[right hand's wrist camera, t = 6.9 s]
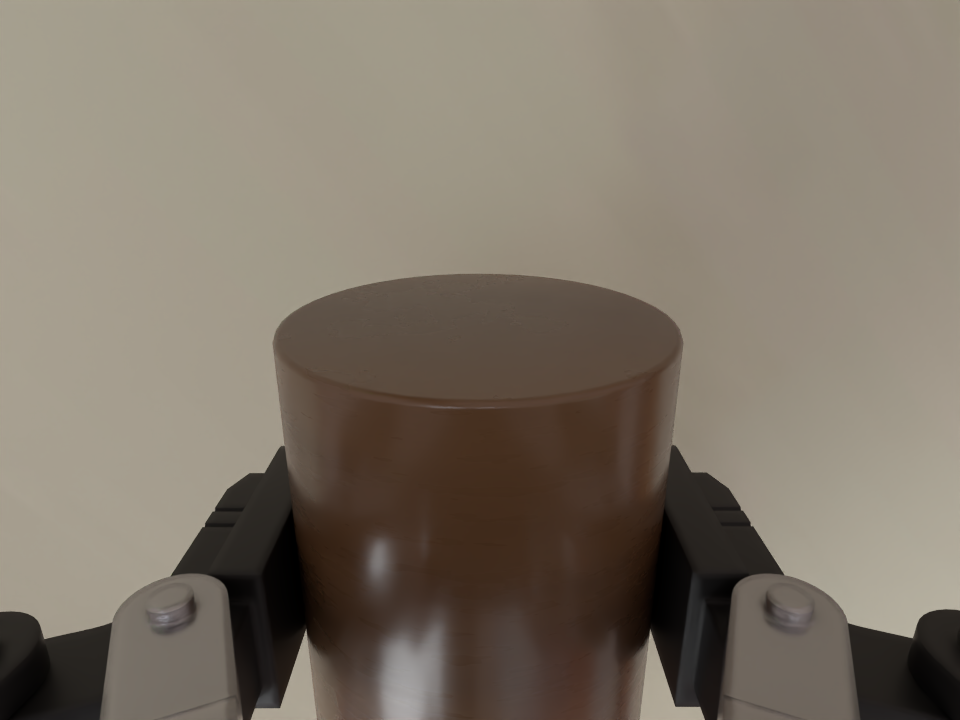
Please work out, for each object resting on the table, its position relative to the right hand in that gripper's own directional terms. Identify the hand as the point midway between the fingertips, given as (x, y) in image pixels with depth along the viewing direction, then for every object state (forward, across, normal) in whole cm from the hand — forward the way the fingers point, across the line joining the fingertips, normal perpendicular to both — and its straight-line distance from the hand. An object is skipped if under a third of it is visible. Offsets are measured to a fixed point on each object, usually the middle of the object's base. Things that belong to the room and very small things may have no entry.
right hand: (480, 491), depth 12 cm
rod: (+1, 0, -10) cm, 10 cm away
